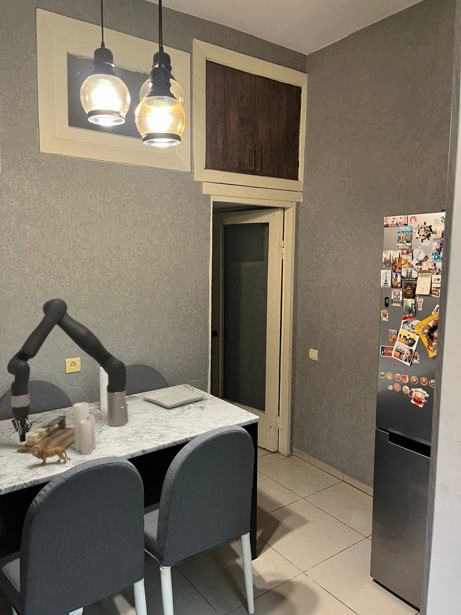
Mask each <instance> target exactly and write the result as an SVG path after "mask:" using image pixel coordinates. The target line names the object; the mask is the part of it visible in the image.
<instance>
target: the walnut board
mask: <svg viewBox="0 0 461 615" xmlns="http://www.w3.org/2000/svg"><path fill="white" fill-rule="evenodd" d="M66 418H67V416H66V415H58V416H57V417H56V418H54V419H52V420H51V421H49V422H48V423H46V424H47V427H50V435H47V436H46V437H45V438H43V439H42V440H40V441H39V442H38V443H36V444H35V445H42V446H46V447H47V448H49V449H50V448H56V447H61V448H63V449H64V450H65V451H67V449H69V448H70V447H71V446H72V445H73V444H75V435H74V426H71V427H70V426H67V419H66ZM32 447H33V446H27V442H25V443H24V444H23V445H21V446H20V447H18V448H17V453H18V452H20V453H21V454H32ZM20 453H19V454H20Z"/></svg>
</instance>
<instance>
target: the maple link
mask: <svg viewBox="0 0 461 615" xmlns="http://www.w3.org/2000/svg"><path fill="white" fill-rule="evenodd" d="M47 424H48V423H46V424H42V426H40V428H39V429H37V430H36V431H35V432H33V433H31V434H30V435H29V436H26V443H27V446H34V445H35V444H36V443H38V442H39V441H40V440H42V439H43V438H45V437H46V436H47V435H50V427H47Z"/></svg>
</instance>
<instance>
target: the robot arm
mask: <svg viewBox="0 0 461 615" xmlns="http://www.w3.org/2000/svg"><path fill="white" fill-rule="evenodd" d="M67 311H68V304H67V303H66V301H65V300H63V299H62V298H53V299H50V300H48V301H46V302H45V303H44V304H43V306H42V312H43V314H44V316H43V317H42V319H41V320H40V322H39V323H38V325H37V326H36V327H35V328H34V330H33V331H32V332H31V333H30V334H29V335H28V337H27V338H26V340H25V342H24V343H23V345H22V346H21V348H20V349H19V350H18V351H17V352H16V353H15V354H14V355H13V356H12V357H11V359H10V360H9V361H8V363H7V367H6V369H7V372H8V373H9V374H10V375H13V376H14V381H12V382H11V384H10V393H11V395H10V403H11V404H10V405H11V415H12V416H13V419H11V423H12V425H13V427H14V429H15V432H17V433H18V435H19V436H18V438H19V439H18V440H19V442H20V443H24V442H27V435H26V434H28V433H29V432H30V430H31V428H32V426H33V423H32V422H30V421H29V414H30V413H31V403H30V402H31V401H30V400H31V399H30V393H29V381H30V375H31V366H30V363H28V361H29V360H31V359H34V358H35V357H36V355H37V354H38V353H39V351H40V349H41V348H42V346H43V344H44V343H45V341H46V339H47V338H48V337H49V335H50V334H51V332H52V330H53V329H54V328H55V327H56V326H58V327H59V328H60V329H61V330H62V331H63V332H64V333H65V334H66V336H68V338H70V339H71V340H72V341H73V342H74V344H76V346H78V347H79V349H81V350H82V351H83V352H84V353H85V354H87V355H88V356H90V358H92V359H93V360H95V361H96V362H97V363H98V364H99V365H100V367H101V368H102V370H104V372H105V373H106V374H107V386H106V400H107V401H106V402H107V403H106V404H107V405H106V406H107V424H108V425H109V426H111V427H120V426H125V425H126V424H127V423H128V422H129V414H128V413H129V412H128V409H129V408H128V403H127V399H126V398H127V396H126V395H127V394H126V393H127V392H126V386H127V367H126V365H125V363H124V362H123V361H122V360H120V359H118V358H117V357H115V356H114V355H113V354H111V352H109V351H108V350H107V349H106V347H104V345H103V343H102V342H101V340H100V339H99V338H98V337H97V336H96V335H95V334H94V333H93V331H91V330H90V329H89V328H88V327H86V325H84V324H82V323H80V322H79V321H77V320H76V319H74V318H72V316H70V314H69V313H68V312H67Z"/></svg>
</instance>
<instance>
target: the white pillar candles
mask: <svg viewBox="0 0 461 615" xmlns="http://www.w3.org/2000/svg"><path fill="white" fill-rule="evenodd" d="M89 405H90V404H89V402H87V401H86V402H83V401H82V402H77V403H74V404H73V405H72V410H73V412H72V414H73V427H74V435H75V442H74V450H75V451H76V452H80V454H81V455H83V456H88V455H91V454H92V453H93V451H95V450H96V428H95V414H92V413H91V414H90V406H89Z"/></svg>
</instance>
